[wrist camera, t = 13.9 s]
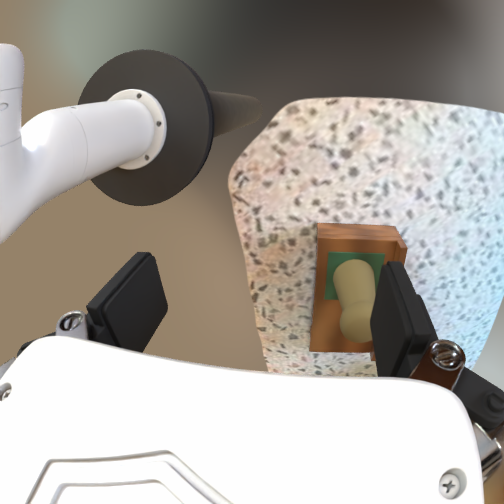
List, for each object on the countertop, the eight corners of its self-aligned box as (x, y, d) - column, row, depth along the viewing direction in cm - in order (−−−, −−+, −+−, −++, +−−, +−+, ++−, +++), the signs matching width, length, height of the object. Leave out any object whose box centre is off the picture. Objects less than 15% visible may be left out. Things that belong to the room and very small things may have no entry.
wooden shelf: (310, 332, 52) (308, 360, 46) (317, 222, 42) (318, 244, 36) (371, 333, 50) (376, 361, 44) (394, 226, 39) (407, 248, 33)
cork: (326, 268, 39) (329, 322, 30) (367, 253, 37) (382, 305, 27) (340, 300, 41) (345, 355, 32) (378, 286, 39) (393, 341, 29)
